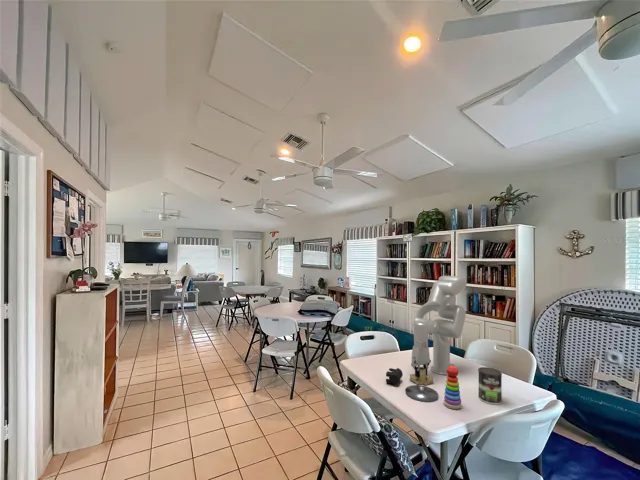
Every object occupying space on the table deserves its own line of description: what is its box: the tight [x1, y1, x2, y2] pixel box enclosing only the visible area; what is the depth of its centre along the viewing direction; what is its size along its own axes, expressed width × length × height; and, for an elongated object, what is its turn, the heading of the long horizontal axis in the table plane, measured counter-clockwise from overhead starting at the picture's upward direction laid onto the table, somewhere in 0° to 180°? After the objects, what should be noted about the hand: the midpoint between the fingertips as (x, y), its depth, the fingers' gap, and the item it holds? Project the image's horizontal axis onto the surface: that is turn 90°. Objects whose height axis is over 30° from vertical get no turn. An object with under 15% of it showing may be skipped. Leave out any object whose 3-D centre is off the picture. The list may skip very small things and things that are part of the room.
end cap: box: [385, 367, 404, 387], centre depth 166 cm, size 10×7×7 cm
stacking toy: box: [443, 365, 463, 410], centre depth 142 cm, size 8×8×19 cm
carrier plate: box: [404, 384, 439, 403], centre depth 153 cm, size 16×16×4 cm
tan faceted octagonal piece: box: [409, 366, 434, 386], centre depth 169 cm, size 12×12×6 cm
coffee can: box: [477, 366, 503, 406], centre depth 149 cm, size 10×10×14 cm
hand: (421, 375), depth 169 cm, fingers closed on tan faceted octagonal piece, 5 cm apart
